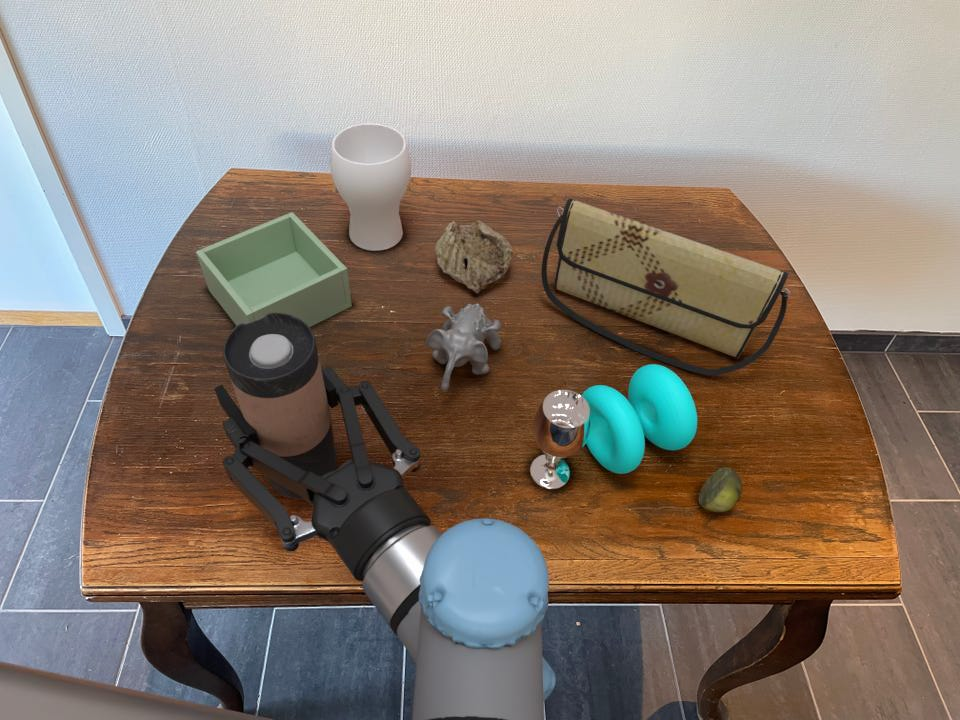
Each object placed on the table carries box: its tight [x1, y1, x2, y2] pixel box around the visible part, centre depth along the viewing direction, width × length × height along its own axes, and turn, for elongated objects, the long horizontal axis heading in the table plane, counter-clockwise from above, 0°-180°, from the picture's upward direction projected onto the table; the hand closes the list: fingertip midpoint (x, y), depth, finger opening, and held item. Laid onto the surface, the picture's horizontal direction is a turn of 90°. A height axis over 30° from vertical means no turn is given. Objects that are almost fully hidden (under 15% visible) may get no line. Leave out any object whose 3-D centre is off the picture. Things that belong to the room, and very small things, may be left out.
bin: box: [195, 211, 353, 328], centre depth 89 cm, size 14×14×7 cm
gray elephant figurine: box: [425, 302, 502, 393], centre depth 82 cm, size 9×12×8 cm
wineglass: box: [529, 389, 591, 490], centre depth 72 cm, size 6×6×12 cm
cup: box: [329, 122, 412, 252], centre depth 95 cm, size 11×11×15 cm
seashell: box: [434, 220, 514, 294], centre depth 95 cm, size 11×7×10 cm
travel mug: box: [222, 313, 338, 500], centre depth 65 cm, size 8×8×20 cm
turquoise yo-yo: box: [581, 363, 698, 475], centre depth 76 cm, size 10×10×10 cm
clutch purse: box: [541, 197, 791, 377], centre depth 85 cm, size 30×7×15 cm, turn 63°
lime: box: [698, 466, 743, 513], centre depth 74 cm, size 4×5×5 cm
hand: (261, 375), depth 66 cm, fingers closed on travel mug, 7 cm apart
